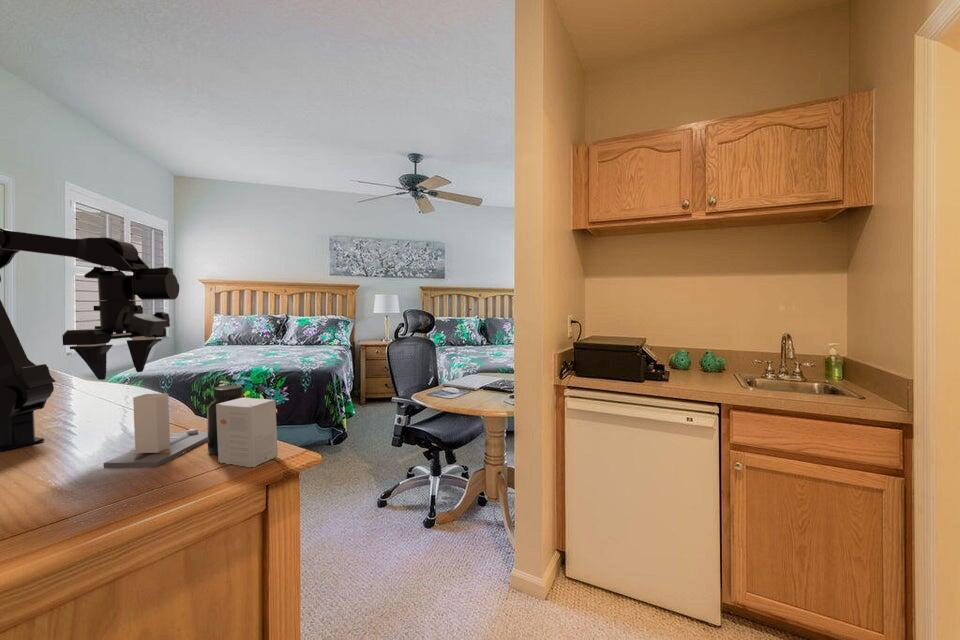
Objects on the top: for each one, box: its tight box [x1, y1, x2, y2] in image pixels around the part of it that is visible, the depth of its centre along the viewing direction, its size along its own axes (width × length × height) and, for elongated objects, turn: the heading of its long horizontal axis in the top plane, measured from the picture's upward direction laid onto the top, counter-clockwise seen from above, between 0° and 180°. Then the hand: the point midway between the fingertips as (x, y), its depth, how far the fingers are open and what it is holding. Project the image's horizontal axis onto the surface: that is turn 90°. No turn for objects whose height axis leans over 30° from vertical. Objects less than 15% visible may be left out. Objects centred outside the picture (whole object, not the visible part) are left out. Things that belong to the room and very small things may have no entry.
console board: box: [102, 428, 208, 469], centre depth 79 cm, size 17×9×2 cm, turn 1°
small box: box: [216, 397, 279, 468], centre depth 74 cm, size 8×6×10 cm
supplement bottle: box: [206, 384, 244, 456], centre depth 79 cm, size 7×7×12 cm
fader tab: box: [132, 393, 171, 453], centre depth 76 cm, size 3×4×10 cm
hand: (121, 375), depth 87 cm, fingers open, 9 cm apart
